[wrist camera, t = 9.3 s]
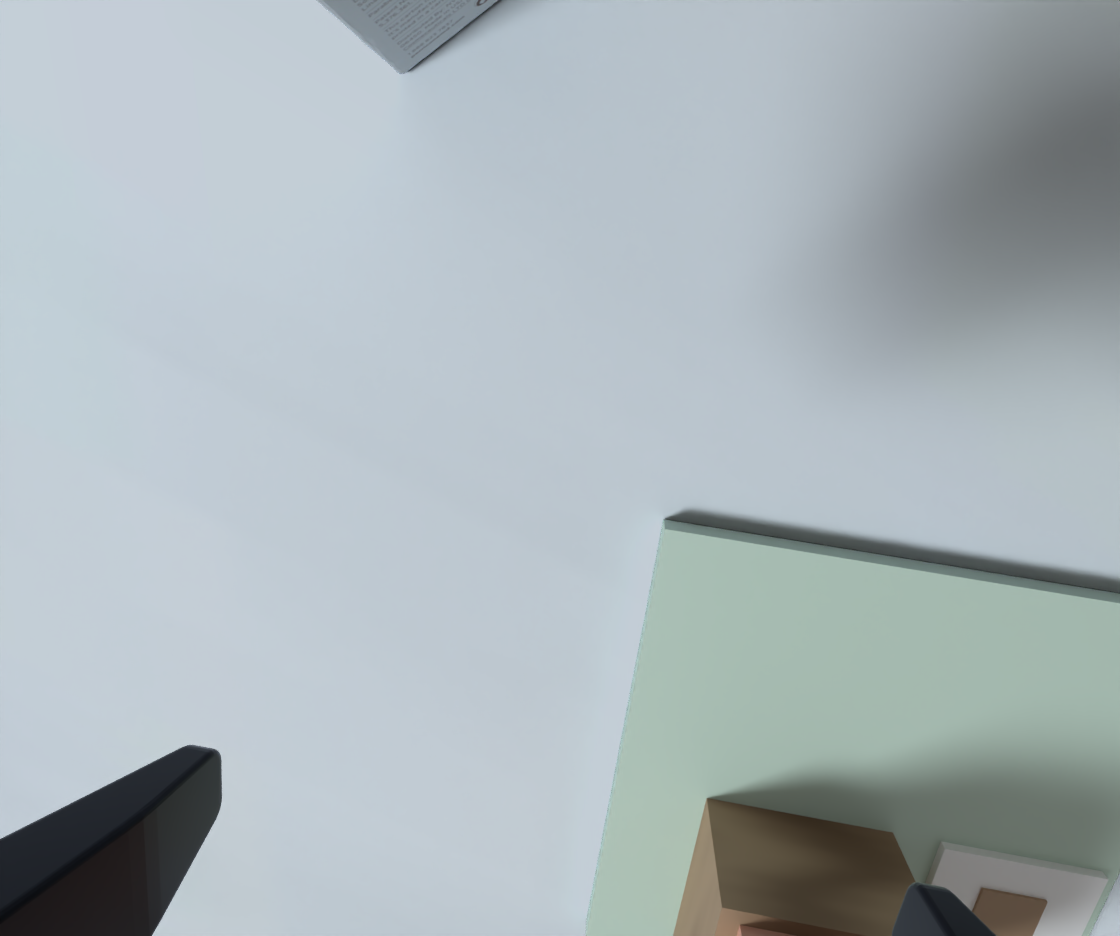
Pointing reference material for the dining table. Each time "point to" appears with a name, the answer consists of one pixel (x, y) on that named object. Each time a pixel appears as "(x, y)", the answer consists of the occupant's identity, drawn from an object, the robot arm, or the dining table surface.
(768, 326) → the dining table surface
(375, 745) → the dining table surface
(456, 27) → the small box
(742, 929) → the pink knobbed block
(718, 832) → the walnut brick
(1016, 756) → the board
